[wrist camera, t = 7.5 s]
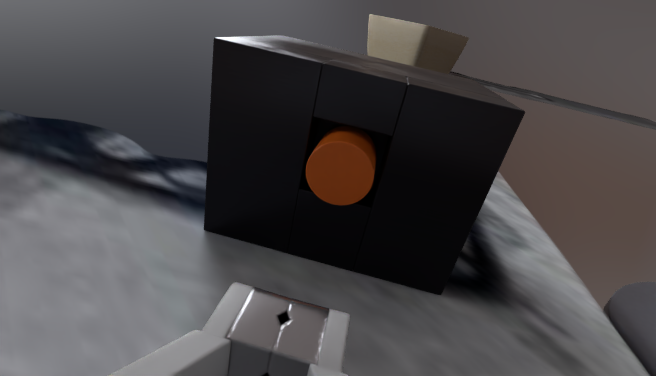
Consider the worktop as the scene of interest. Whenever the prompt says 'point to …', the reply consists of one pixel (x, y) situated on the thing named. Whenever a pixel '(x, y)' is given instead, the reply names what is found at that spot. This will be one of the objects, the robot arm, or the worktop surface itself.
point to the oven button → (342, 166)
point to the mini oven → (391, 163)
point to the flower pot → (414, 44)
